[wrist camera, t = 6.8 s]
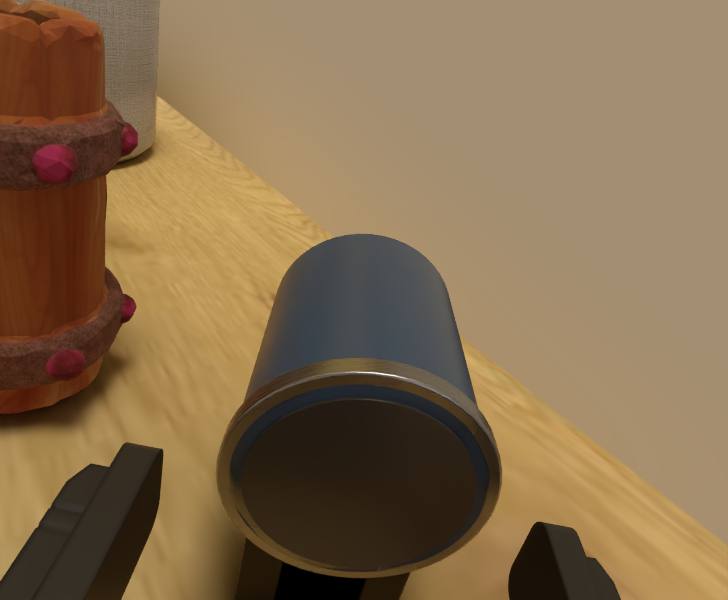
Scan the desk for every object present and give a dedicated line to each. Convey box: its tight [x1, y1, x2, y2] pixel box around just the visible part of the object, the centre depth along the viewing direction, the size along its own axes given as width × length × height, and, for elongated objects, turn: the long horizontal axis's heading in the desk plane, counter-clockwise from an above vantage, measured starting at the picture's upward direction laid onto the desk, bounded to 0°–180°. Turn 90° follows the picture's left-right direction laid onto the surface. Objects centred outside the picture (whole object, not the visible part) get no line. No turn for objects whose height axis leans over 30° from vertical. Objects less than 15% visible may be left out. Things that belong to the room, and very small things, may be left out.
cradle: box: [233, 536, 410, 600], centre depth 19 cm, size 6×5×4 cm
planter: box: [15, 0, 160, 163], centre depth 45 cm, size 16×16×16 cm
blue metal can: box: [216, 234, 502, 578], centre depth 16 cm, size 8×7×7 cm
